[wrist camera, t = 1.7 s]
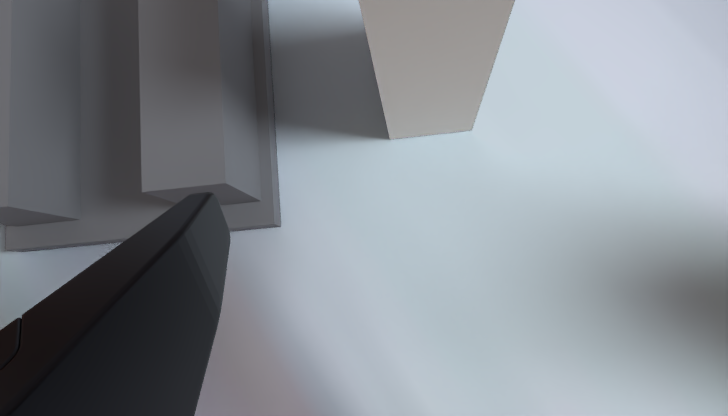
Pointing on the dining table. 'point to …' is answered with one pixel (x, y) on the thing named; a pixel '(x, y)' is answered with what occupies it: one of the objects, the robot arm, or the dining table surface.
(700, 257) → the dining table surface
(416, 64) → the grey block
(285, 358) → the dining table surface
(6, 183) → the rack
